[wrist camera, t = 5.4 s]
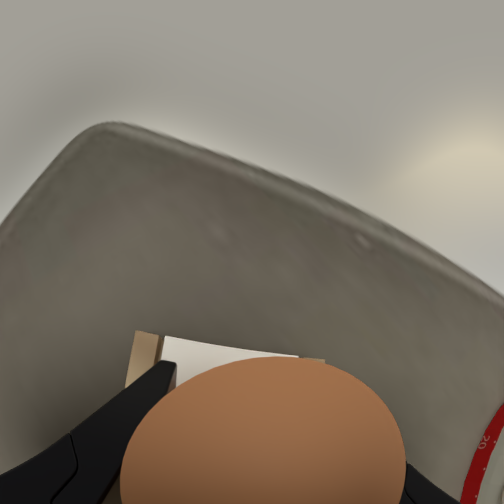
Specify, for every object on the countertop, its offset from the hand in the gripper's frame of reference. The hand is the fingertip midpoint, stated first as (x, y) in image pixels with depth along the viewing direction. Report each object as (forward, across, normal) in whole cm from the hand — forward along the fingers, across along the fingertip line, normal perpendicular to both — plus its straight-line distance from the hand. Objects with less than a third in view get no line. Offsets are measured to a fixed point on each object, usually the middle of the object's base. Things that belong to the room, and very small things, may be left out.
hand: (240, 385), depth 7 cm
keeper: (+3, 0, +5) cm, 5 cm away
